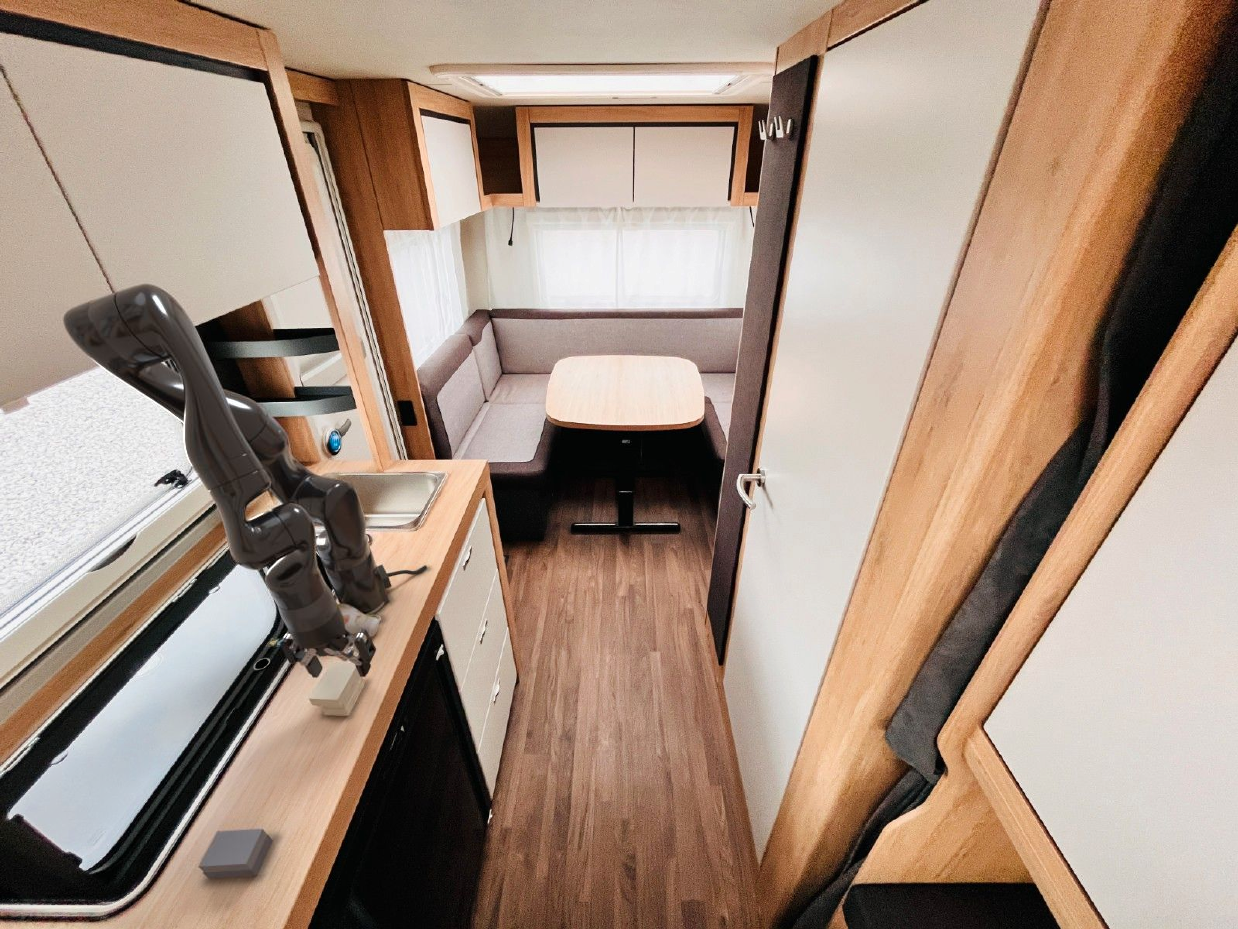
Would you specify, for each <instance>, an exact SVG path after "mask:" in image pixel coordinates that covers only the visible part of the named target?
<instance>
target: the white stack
mask: <svg viewBox="0 0 1238 929" xmlns="http://www.w3.org/2000/svg"><path fill="white" fill-rule="evenodd" d="M365 685H366V682H365V679H364V677H360V675H359V674H358V676H357V678H356V680H355V681H354V683H353V685H352V687H351V689H350V691H349V692H348V694H347V696H346V698H345V700H344V702H343V703H342V705H341V707H338V706H321V710H322V711H323V714H324V716H340V717H349V716H350V714H351V713H352V710H353V708H354V706H355V704H356V702H357V701H358V699H359V697H360V695H361V693H362V691H363V689H364V687H365Z"/></svg>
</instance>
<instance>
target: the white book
mask: <svg viewBox="0 0 1238 929" xmlns="http://www.w3.org/2000/svg"><path fill="white" fill-rule="evenodd" d="M358 674H359V673H358V671H357V669H356V666H355V664H354V663H352V662H351V661H336V660H335V661H334V660H332V661H331V662H330V663H329V665H328V666H327V668H326V670H325V671H324V672H323V674H322V676H321V678H320V679H319V681H318V682H317V684H316V686H315V687H314V689H313V690H312V692H311V694H310V696H308V701H309V702H310V704H311V706H319V707H320V706H321V707H322V706H338V707H341V705H342V703H343V702H344V700H345V698H346V696H347V694H348V692H349V691H350V689H351V687H352V685H353V683H354V681H355V680H356V678H357V676H358Z"/></svg>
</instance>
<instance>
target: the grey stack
mask: <svg viewBox="0 0 1238 929" xmlns="http://www.w3.org/2000/svg"><path fill="white" fill-rule="evenodd" d="M272 844H273V839H272V837H271V836H270V835H269V834H268V833H267V832H266V831H265V830H264V828H251V829H250V828H249V829H234V830H233V829H231V830H217V831H216V833H215V835H214V837H213V838H212V840H211V842H210V844H209V846H208V847H207V850H206V851H205V853H204V855H203V857H202V858H201V861H200V863H199V864H198V866H197V867H198V869H200V870H201V871H202V874H203V875H204V876H205V877H206V878H207V879H208V880H213V879H214V880H215V879H216V880H217V879H234V878H249V877H251V878H252V877H258V874H259V872H260V870H261V868H262V866H263V863H264V861H265V859H266V856H267V854H268V853H269V850H270V848H271V846H272Z"/></svg>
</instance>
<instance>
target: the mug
mask: <svg viewBox="0 0 1238 929" xmlns="http://www.w3.org/2000/svg"><path fill="white" fill-rule="evenodd" d="M337 604H338V607H339V609H340V611H341V613H342V615H343V618H344V623H345V629H346V630H347V631H349V632H350V633H351V634H358V633H359V632H360V630H361V629H365V630H366V631H367V632H368V634H369V636H370V638H371V637H374V636H375V635H376V634H377V632H378V631H379V628H380V623H381V622H382V618H381V616H380V615H379V614H373V615H370V614H363V613H361V612H360V611H358V610H357V609H356V608H354V607H352V606H350V605H347V604H340V603H337Z"/></svg>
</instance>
